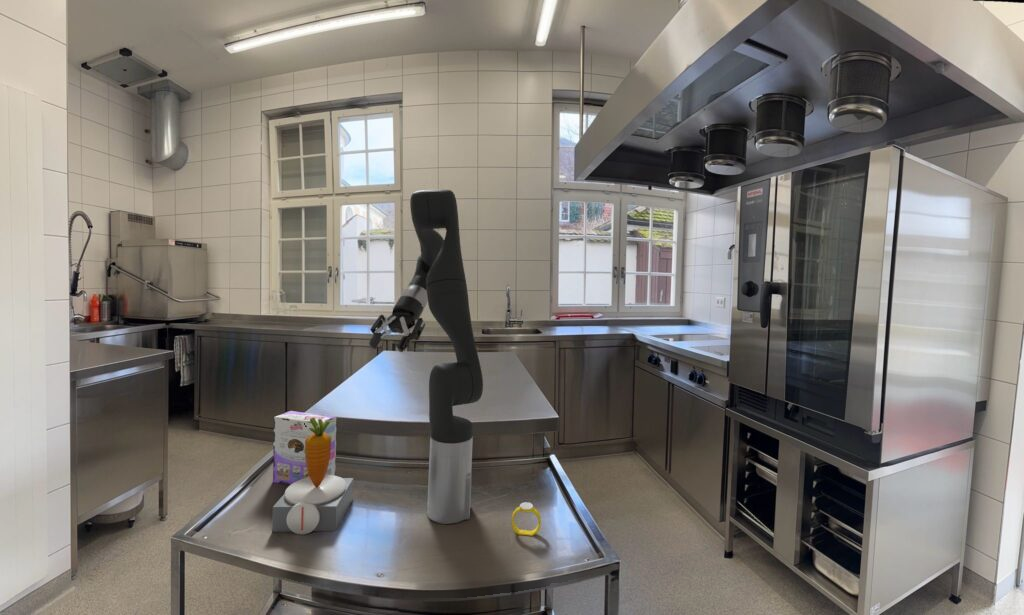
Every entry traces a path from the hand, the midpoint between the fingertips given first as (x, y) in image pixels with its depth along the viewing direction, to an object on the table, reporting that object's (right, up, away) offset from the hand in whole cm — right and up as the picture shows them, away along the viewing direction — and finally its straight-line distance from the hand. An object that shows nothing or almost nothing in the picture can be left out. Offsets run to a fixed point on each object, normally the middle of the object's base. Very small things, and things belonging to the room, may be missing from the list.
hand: (385, 348), depth 106 cm
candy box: (-18, -32, -6) cm, 38 cm away
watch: (+36, -36, -23) cm, 56 cm away
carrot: (-8, -28, -20) cm, 35 cm away
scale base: (-9, -33, -20) cm, 40 cm away
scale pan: (-8, -28, -20) cm, 36 cm away
